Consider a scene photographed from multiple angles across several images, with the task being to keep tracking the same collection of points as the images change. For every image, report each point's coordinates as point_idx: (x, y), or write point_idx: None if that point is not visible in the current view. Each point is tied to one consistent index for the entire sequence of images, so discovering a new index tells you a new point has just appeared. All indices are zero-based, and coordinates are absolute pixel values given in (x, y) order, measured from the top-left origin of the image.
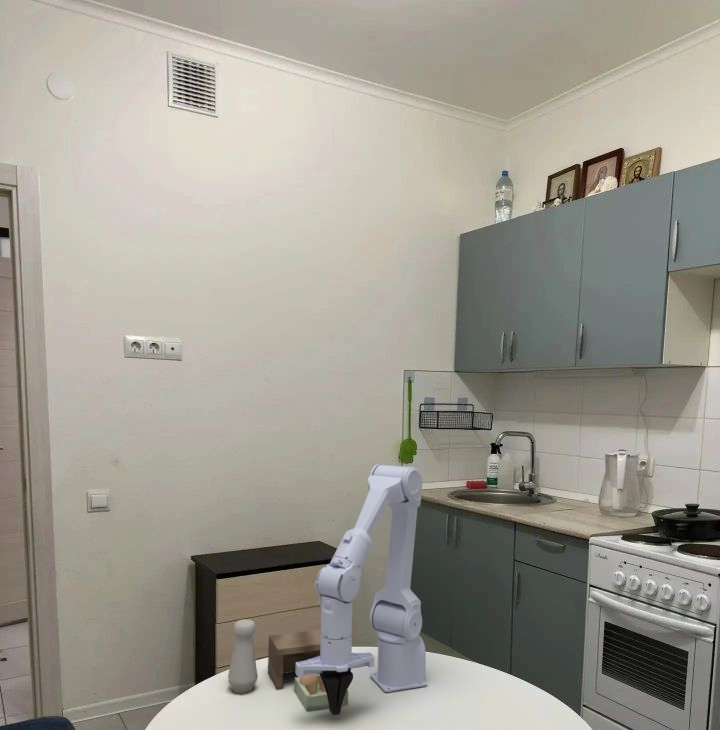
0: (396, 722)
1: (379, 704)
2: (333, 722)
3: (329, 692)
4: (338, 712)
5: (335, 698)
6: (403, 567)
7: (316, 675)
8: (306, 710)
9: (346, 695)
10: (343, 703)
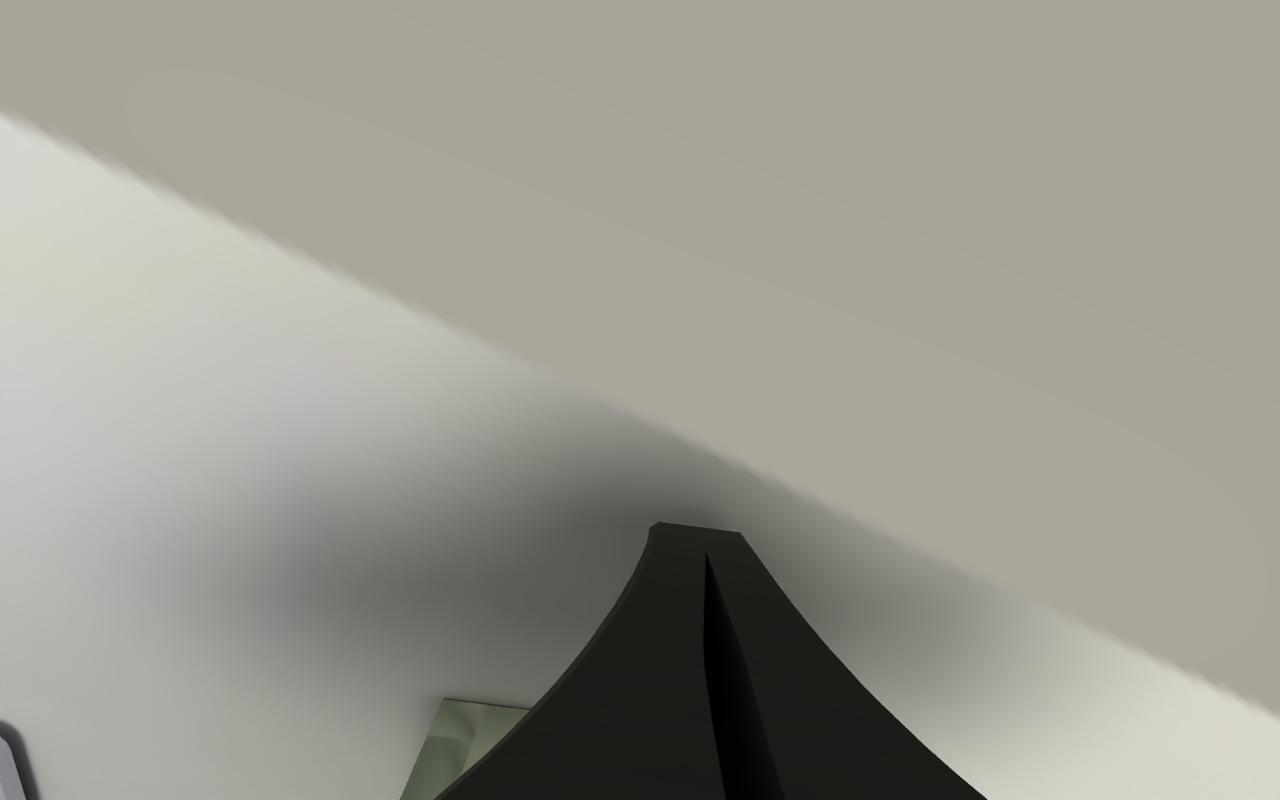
0: (26, 153)
1: (126, 583)
2: (735, 484)
3: (958, 782)
4: (678, 530)
5: (774, 653)
6: None
7: None
8: None
9: (426, 787)
10: (484, 722)
